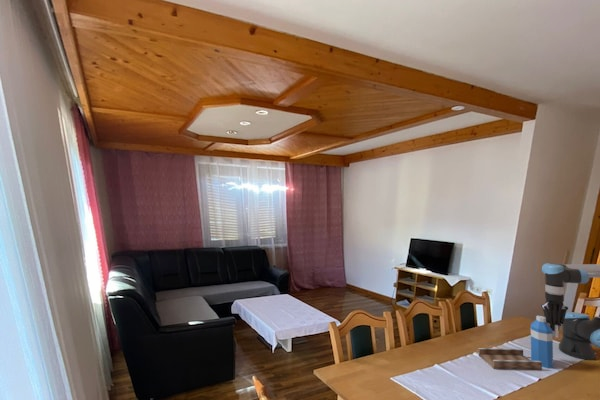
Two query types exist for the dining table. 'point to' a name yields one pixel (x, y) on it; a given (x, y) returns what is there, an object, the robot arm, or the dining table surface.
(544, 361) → the water bottle
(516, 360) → the cradle
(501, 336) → the dining table surface
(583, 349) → the robot arm
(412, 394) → the dining table surface
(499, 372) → the dining table surface
